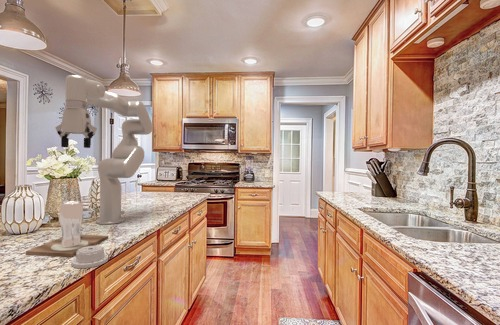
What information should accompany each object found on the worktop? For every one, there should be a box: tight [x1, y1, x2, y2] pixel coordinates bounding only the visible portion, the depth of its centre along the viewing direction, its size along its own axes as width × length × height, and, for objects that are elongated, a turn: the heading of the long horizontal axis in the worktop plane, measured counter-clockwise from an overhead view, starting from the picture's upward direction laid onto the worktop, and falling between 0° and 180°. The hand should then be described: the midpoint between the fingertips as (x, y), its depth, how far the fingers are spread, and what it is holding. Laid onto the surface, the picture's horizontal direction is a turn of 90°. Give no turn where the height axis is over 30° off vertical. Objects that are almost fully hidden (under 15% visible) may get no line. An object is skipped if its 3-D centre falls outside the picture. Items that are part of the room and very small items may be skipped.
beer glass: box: [58, 200, 84, 247], centre depth 95 cm, size 7×7×15 cm
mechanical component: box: [71, 244, 109, 269], centre depth 84 cm, size 10×4×10 cm
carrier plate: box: [25, 232, 109, 258], centre depth 98 cm, size 20×16×2 cm
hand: (76, 147), depth 112 cm, fingers open, 9 cm apart
